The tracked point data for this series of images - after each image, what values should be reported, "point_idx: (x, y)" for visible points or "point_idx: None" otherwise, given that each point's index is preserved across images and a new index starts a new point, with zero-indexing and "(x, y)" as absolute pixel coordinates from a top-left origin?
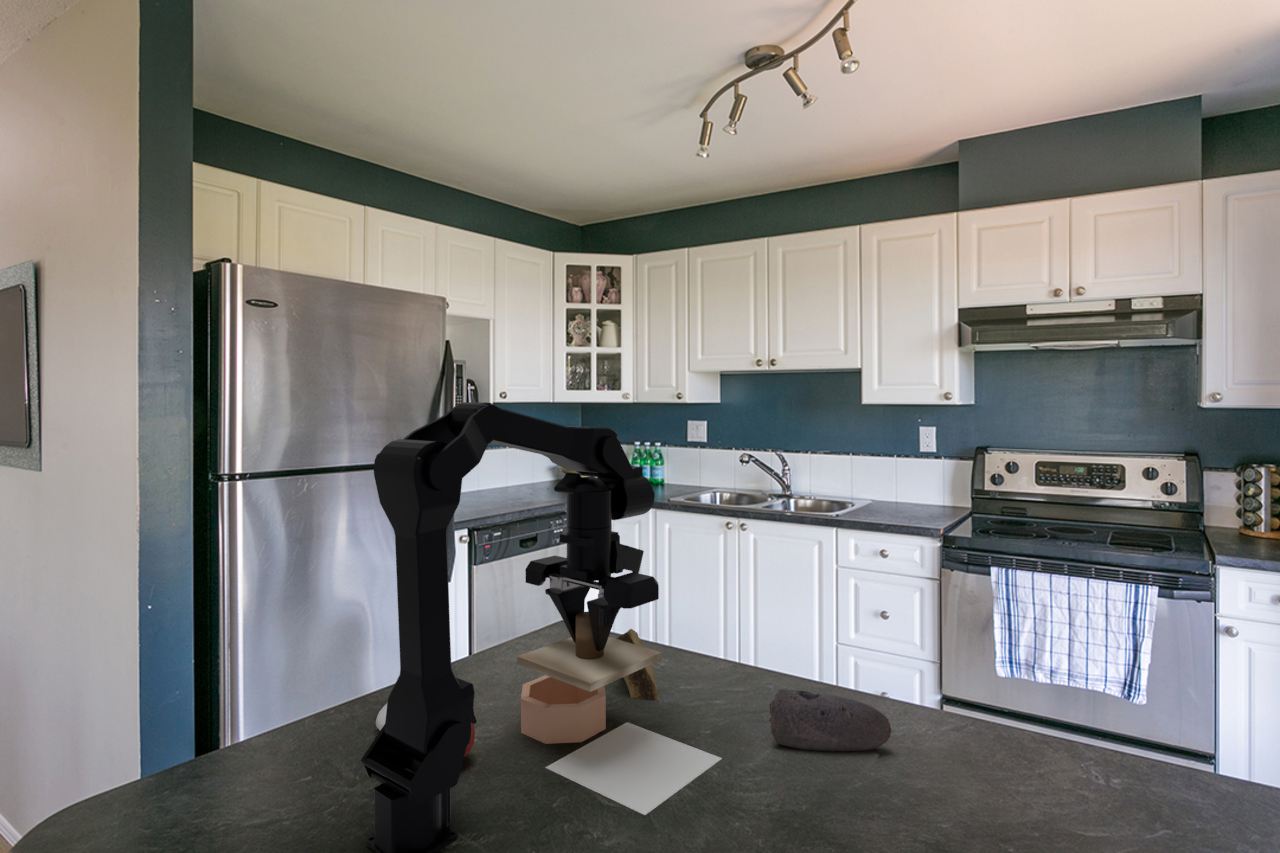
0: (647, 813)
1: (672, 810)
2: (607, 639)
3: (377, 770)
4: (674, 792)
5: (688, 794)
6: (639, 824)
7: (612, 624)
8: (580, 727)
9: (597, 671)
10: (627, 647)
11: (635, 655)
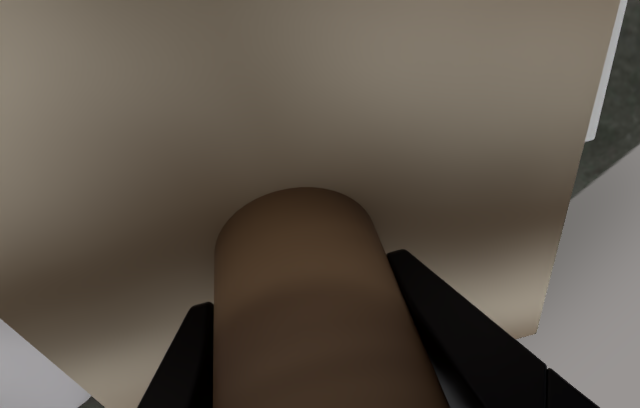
0: (594, 131)
1: (622, 74)
2: (446, 283)
3: None
4: (614, 43)
5: (632, 3)
6: (585, 147)
7: (551, 372)
8: None
9: (489, 291)
10: None
11: (516, 45)
